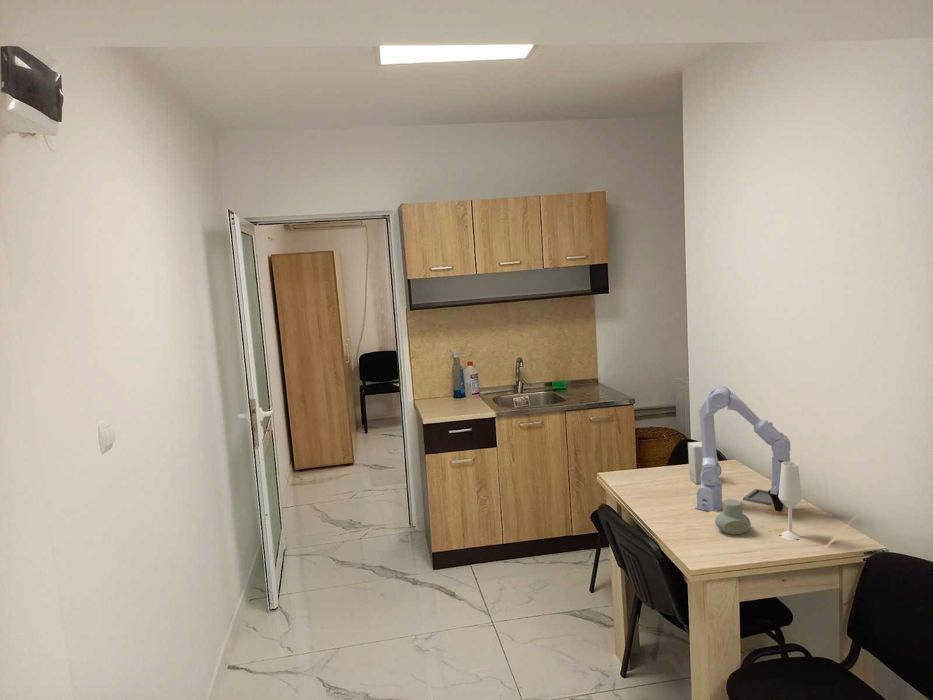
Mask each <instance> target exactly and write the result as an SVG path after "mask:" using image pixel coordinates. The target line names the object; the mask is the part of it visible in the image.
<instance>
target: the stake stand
mask: <svg viewBox="0 0 933 700" xmlns="http://www.w3.org/2000/svg"><path fill="white" fill-rule="evenodd" d="M797 512H798V510H797V509H796V510H795V509H792V516H793V515H795V514H796V513H797ZM765 514H769V515H773V516H778V517H782V518H783V517H784V518H787V519H788V515H787V516H786V515H781V514H776V513H771V508H770V509H769V510H767V511H766V512H765Z"/></svg>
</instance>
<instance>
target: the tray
mask: <svg viewBox="0 0 933 700" xmlns="http://www.w3.org/2000/svg"><path fill="white" fill-rule="evenodd" d="M768 491H769V490H765V489H758V488H755V489H754V490H752V491H750V492H749V493H748V494H746V495H745V496H744V497H742V500H743V501H745V502H752V503H756V504H761V505H766V506H770V507H771V497H770V495H769V493H768Z"/></svg>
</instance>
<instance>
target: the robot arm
mask: <svg viewBox="0 0 933 700" xmlns="http://www.w3.org/2000/svg"><path fill="white" fill-rule="evenodd" d="M726 407H727V408H726ZM725 408H726V409H727V410H728V411H729V410H730V411H735V412H737V413H738V414H739V415H740V416H742V417H743V419H745V420H746V421H747V422H749V423H750V424H751V425H752V427H753V432H754V433H755V434H757V436H758V437H759V438H761V439H762V440H763V441H764V442H765V443H766V444H767V445H769V446H771V447H770V448H771V451H772V457H771V460H772V461H771V465H772V466H771V468H772V469H771V472H772V473H771V475H772V476H771V477H772V481H771V487H770V489H769V490H767V491H768V493H769V495H770V497H771V499H772V501H773V504H774V508H775V511H779V512H782V509H783V503H782V502H781V501H780V499H779V497H778V495H779V485H780V475H781V465H782V463H783V462H791V453H790V452H791V449H792V448H791V440H790V438H789V437H788V436H787V435H785V434H784V433H783V432H780V431H779V430H778V429H776V427H775V426H774V424H773V423H774V422H772V421H768V420H767V419H761V418H760V417H759V416H758V415H757V414H756V413H755V411H754V412H753V410H752V409H751V408H750V407H749V406H748V405H747V404H746V403H745V402H744V401H743V400H742V399H741V398H740V397H739V396H738V395H737V394H736V393H735V392H733V391H731V390H730V388H728V387H727V386H723V385H722V386H717V388H714V390H712V391H711V392H710V393H709V395H708V396H707V397H706V398H705V400H704V402H703V403H702V405H701V406H700V408H699V412H698V413H699V425H700V437H701V440H700V441H701V442H702V452H703V463H702V472H701V474H700V478H701V484H700V486H699V488H698V489H697V490H696V505H695V506H694V509H697V510H701V511H706V512H715V513H716V512H718V511H719V510H721V509H723V485H722V484H723V482H722V480H721V479H720V477H721V475H722V467H721V465H720V464H719V457H718V456H717V440H716V431H715V430H716V427H715V414H716V413H717V412H719V411H720V410H722V409H725Z"/></svg>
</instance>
